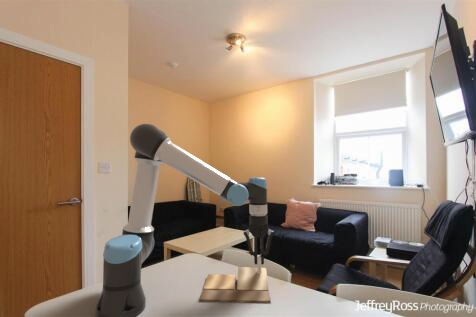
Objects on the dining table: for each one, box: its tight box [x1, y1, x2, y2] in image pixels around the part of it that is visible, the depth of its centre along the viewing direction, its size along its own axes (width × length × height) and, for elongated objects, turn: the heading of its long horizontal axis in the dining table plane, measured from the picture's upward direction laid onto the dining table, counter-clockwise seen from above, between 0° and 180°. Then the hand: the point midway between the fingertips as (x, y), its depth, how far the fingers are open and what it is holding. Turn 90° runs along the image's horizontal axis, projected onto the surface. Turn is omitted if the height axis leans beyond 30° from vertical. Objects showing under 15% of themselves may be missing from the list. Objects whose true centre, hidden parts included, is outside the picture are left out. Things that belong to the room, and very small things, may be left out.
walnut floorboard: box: [199, 289, 272, 304], centre depth 89 cm, size 25×8×2 cm, turn 88°
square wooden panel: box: [236, 266, 270, 292], centre depth 99 cm, size 12×12×2 cm
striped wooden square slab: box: [202, 273, 237, 291], centre depth 100 cm, size 12×12×2 cm
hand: (259, 272), depth 101 cm, fingers closed
